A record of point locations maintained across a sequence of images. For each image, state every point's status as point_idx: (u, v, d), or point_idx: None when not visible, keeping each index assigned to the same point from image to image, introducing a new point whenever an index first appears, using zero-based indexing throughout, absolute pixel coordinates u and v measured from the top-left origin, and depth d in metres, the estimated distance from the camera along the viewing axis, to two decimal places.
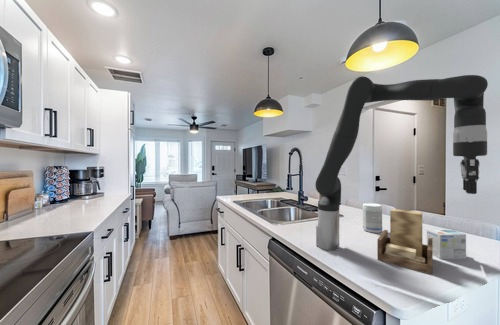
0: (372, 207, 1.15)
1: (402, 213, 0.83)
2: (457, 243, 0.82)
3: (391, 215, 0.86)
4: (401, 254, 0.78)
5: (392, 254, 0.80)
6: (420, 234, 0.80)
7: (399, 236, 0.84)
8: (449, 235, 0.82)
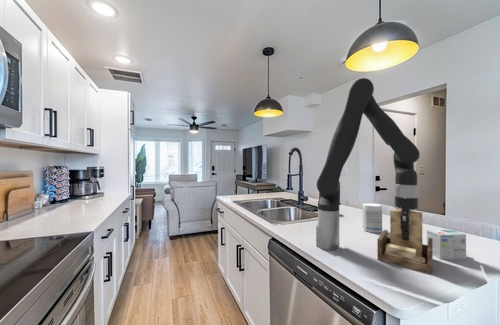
0: (372, 207, 1.15)
1: None
2: (457, 243, 0.82)
3: (391, 215, 0.86)
4: (401, 254, 0.78)
5: (392, 254, 0.80)
6: (420, 234, 0.80)
7: (399, 236, 0.84)
8: (449, 235, 0.82)
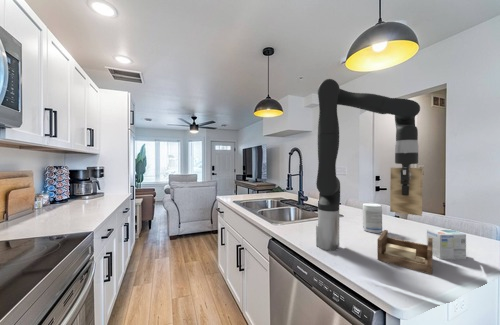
0: (372, 207, 1.15)
1: None
2: (457, 243, 0.82)
3: (391, 172, 0.86)
4: (401, 254, 0.78)
5: (392, 254, 0.80)
6: (420, 188, 0.80)
7: (399, 192, 0.84)
8: (449, 235, 0.82)
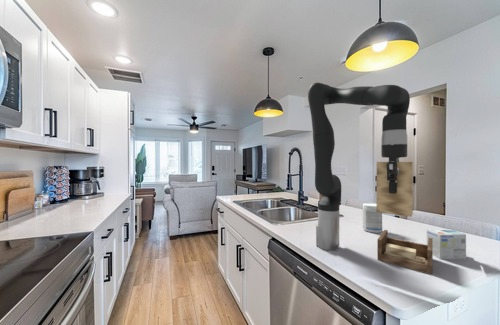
0: (372, 207, 1.15)
1: None
2: (457, 243, 0.82)
3: (377, 167, 0.75)
4: (401, 254, 0.78)
5: (392, 254, 0.80)
6: (410, 185, 0.69)
7: (386, 190, 0.73)
8: (449, 235, 0.82)
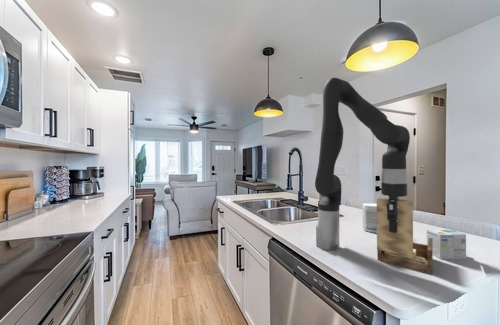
0: (372, 207, 1.15)
1: None
2: (457, 243, 0.82)
3: (378, 204, 0.75)
4: None
5: (392, 254, 0.80)
6: (410, 225, 0.69)
7: (387, 228, 0.73)
8: (449, 235, 0.82)
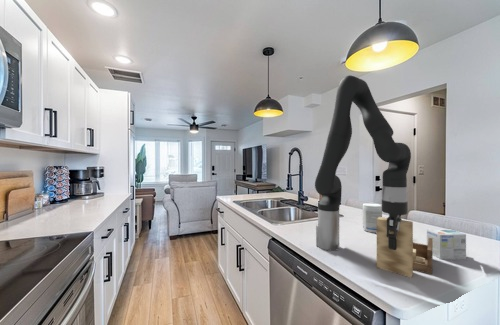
0: (372, 207, 1.15)
1: None
2: (457, 243, 0.82)
3: (377, 224, 0.75)
4: None
5: None
6: (410, 247, 0.69)
7: (386, 249, 0.74)
8: (449, 235, 0.82)
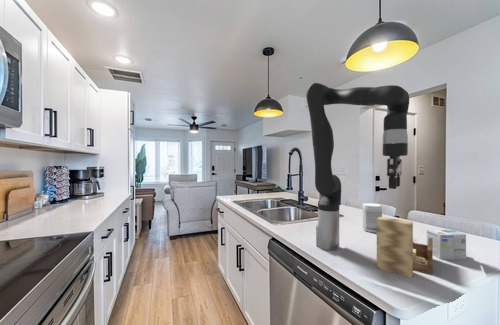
0: (372, 207, 1.15)
1: (390, 222, 0.73)
2: (457, 243, 0.82)
3: (377, 224, 0.75)
4: None
5: None
6: (410, 247, 0.69)
7: (386, 249, 0.74)
8: (449, 235, 0.82)
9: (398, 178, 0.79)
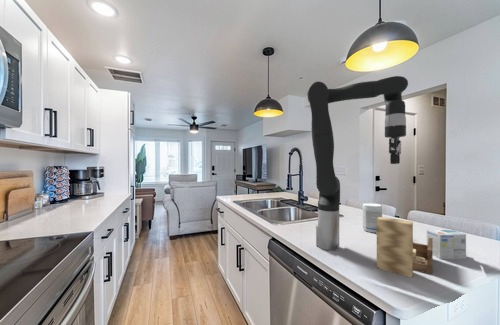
0: (372, 207, 1.15)
1: (390, 222, 0.73)
2: (457, 243, 0.82)
3: (377, 224, 0.75)
4: None
5: None
6: (410, 247, 0.69)
7: (386, 249, 0.74)
8: (449, 235, 0.82)
9: (398, 156, 0.92)
